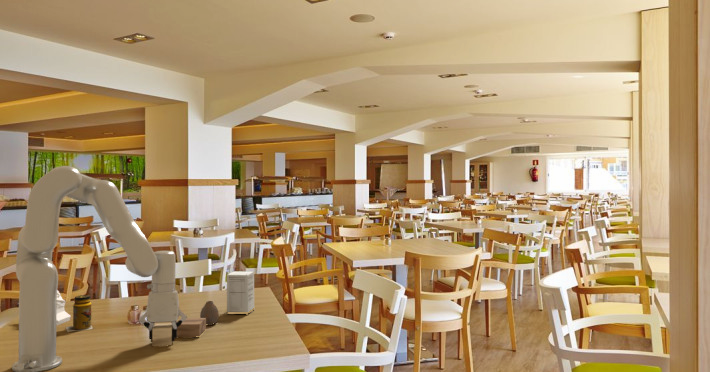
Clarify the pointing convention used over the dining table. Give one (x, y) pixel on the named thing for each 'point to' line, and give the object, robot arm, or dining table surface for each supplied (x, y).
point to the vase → (209, 312)
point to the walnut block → (191, 327)
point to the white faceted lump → (61, 310)
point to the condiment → (81, 314)
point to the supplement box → (240, 291)
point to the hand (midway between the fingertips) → (163, 340)
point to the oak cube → (162, 334)
